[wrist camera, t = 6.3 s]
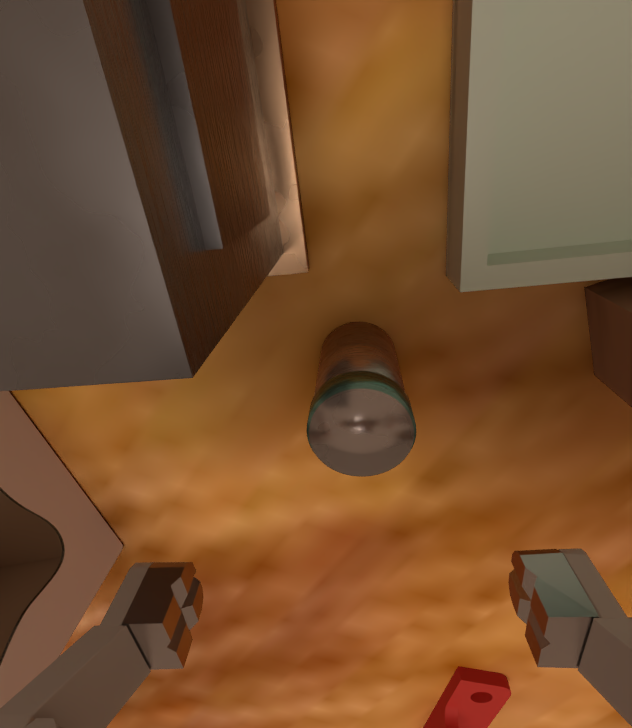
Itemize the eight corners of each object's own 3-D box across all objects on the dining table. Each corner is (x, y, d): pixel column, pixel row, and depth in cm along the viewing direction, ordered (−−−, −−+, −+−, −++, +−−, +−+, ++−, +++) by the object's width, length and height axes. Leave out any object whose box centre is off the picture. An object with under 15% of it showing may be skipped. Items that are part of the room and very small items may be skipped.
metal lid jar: (396, 316, 20) (416, 384, 14) (398, 387, 22) (417, 476, 16) (314, 323, 21) (299, 392, 15) (323, 392, 23) (313, 480, 16)
